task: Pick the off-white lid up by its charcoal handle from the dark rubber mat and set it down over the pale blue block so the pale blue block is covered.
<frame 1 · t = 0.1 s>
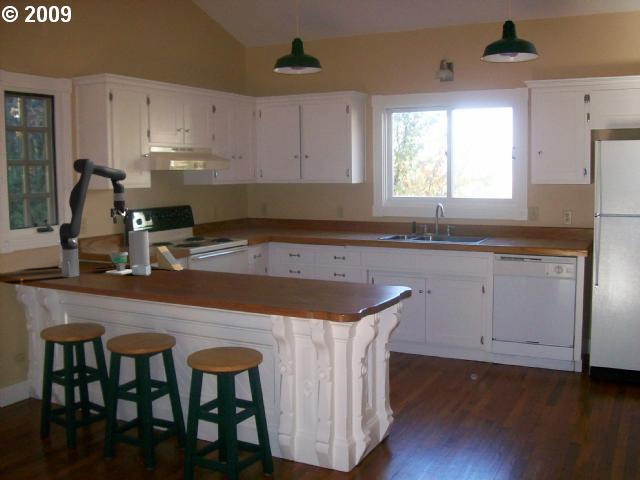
hand: (120, 223, 462), 29 cm above the worktop, fingers open, 8 cm apart
lid: (120, 272, 436), point 1 cm above the worktop, touching mat
pale blue block: (141, 274, 430), on the worktop
decorative container: (67, 267, 466), on the worktop
cylinder vase: (139, 269, 453), on the worktop
food container: (119, 267, 462), on the worktop
mat: (120, 273, 436), on the worktop
sandwich container: (170, 269, 450), on the worktop
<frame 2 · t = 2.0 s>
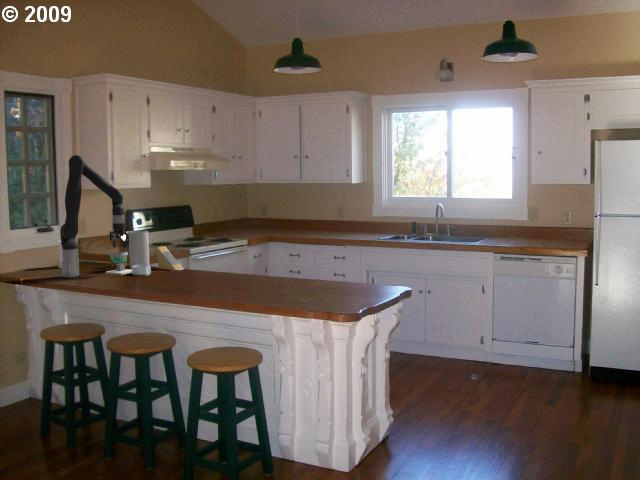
hand: (119, 247, 434), 16 cm above the worktop, fingers open, 8 cm apart
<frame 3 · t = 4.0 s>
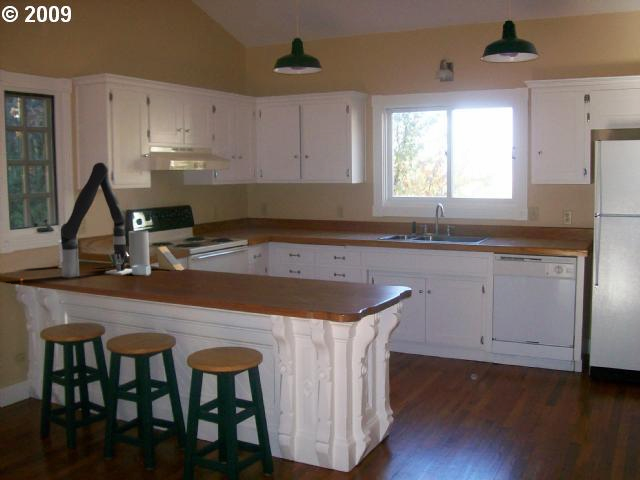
hand: (120, 269, 435), 2 cm above the worktop, fingers closed on lid, 3 cm apart
lid: (120, 272, 436), point 1 cm above the worktop, touching gripper, mat
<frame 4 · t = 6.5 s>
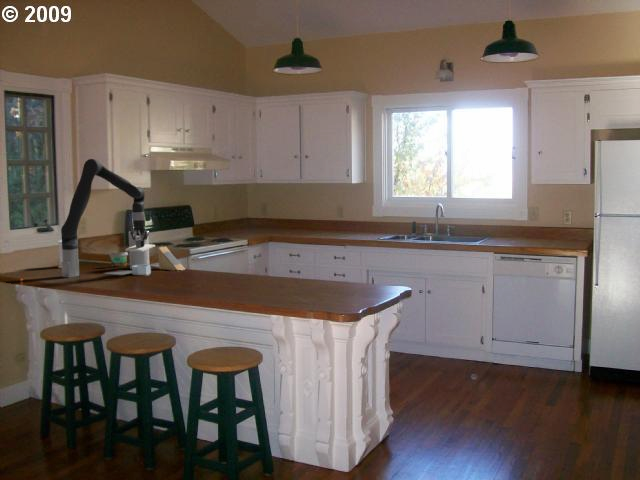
hand: (140, 246, 428), 18 cm above the worktop, fingers closed on lid, 3 cm apart
lid: (140, 248, 428), point 16 cm above the worktop, tilted 8°, touching gripper
when the fingers open (8 cm above the worktop, at t = 8.9 s): lid drops 2 cm, resting on pale blue block.
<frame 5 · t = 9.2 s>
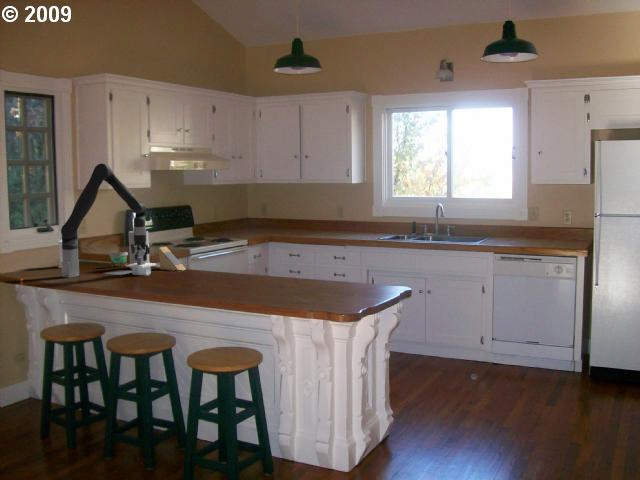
hand: (140, 260, 429), 9 cm above the worktop, fingers open, 6 cm apart
lid: (141, 265, 429), point 5 cm above the worktop, touching pale blue block
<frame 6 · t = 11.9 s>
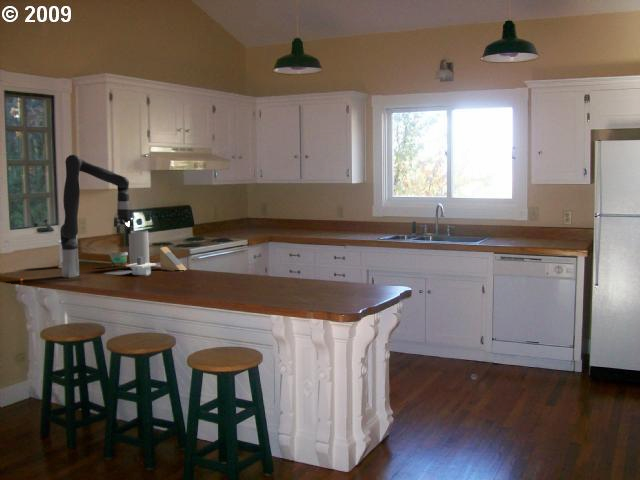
hand: (123, 233, 433), 25 cm above the worktop, fingers open, 8 cm apart
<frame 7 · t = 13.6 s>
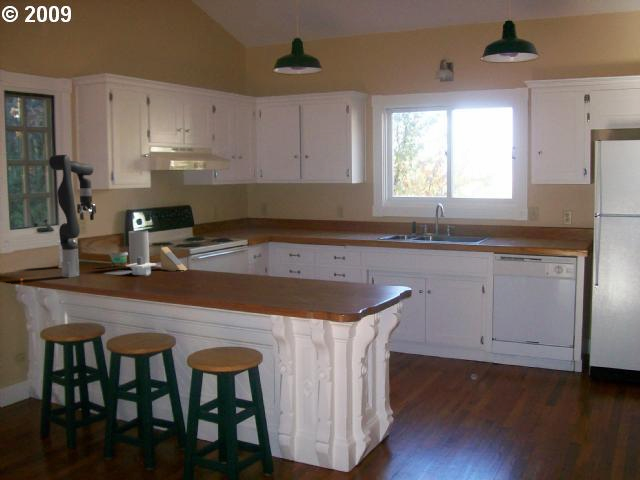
hand: (87, 219, 448), 33 cm above the worktop, fingers open, 8 cm apart
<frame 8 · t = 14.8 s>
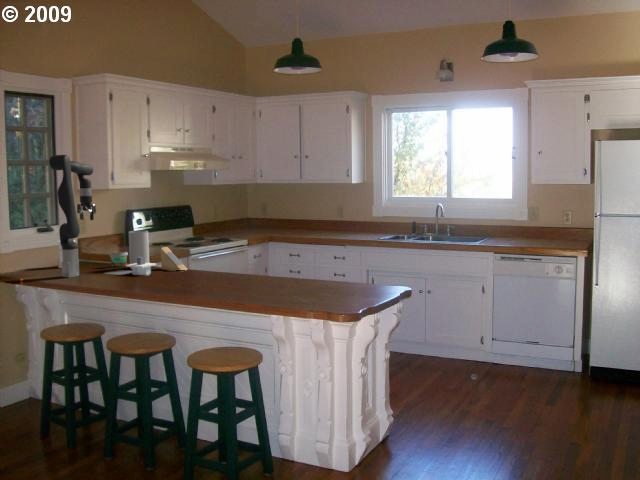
hand: (87, 219, 448), 33 cm above the worktop, fingers open, 8 cm apart
at the end: lid 0.1 cm off-centre on the pale blue block, point 5.5 cm above the pale blue block's base; lid tilted 0°; the gripper is holding nothing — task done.
